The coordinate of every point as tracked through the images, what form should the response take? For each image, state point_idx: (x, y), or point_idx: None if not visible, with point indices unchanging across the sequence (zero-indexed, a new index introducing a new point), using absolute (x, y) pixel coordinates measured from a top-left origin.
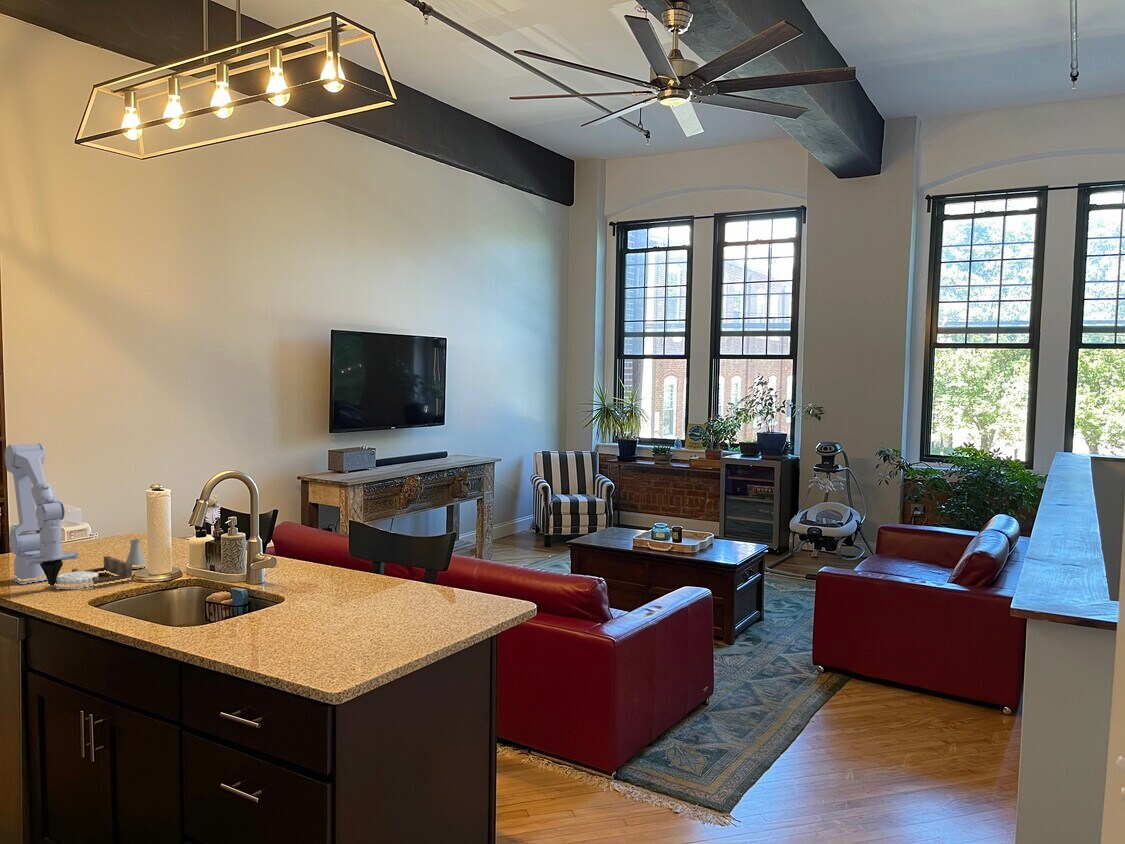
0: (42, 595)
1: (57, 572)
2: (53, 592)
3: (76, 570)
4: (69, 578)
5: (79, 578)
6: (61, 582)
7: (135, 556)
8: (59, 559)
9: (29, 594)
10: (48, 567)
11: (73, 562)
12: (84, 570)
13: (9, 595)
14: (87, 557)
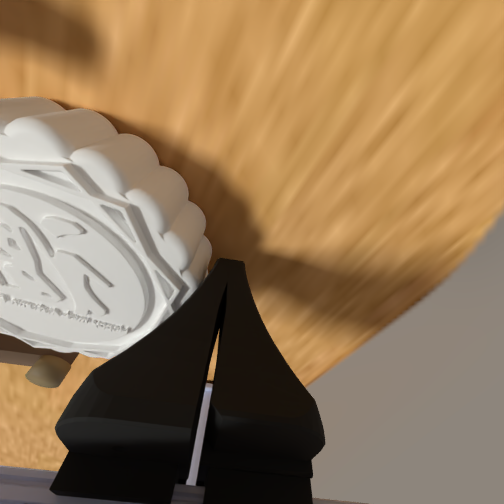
0: (351, 175)
1: (183, 317)
2: (261, 192)
3: (39, 366)
4: (114, 218)
5: (27, 161)
6: (186, 231)
7: None
8: (75, 500)
9: (357, 262)
10: (282, 394)
11: (57, 448)
12: (6, 361)
13: (403, 314)
14: (21, 455)
